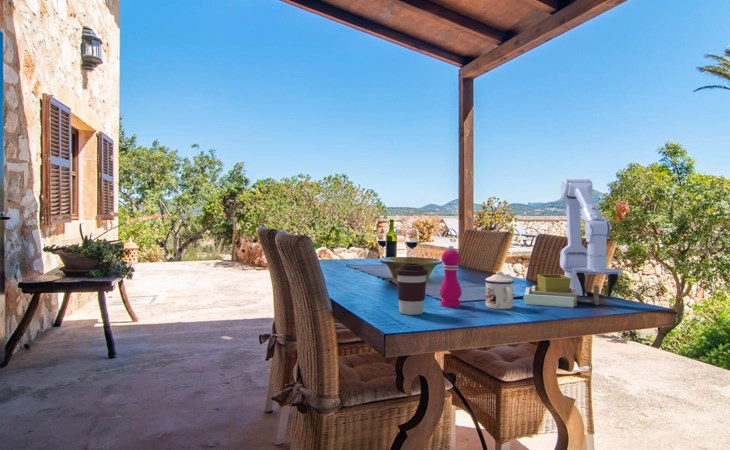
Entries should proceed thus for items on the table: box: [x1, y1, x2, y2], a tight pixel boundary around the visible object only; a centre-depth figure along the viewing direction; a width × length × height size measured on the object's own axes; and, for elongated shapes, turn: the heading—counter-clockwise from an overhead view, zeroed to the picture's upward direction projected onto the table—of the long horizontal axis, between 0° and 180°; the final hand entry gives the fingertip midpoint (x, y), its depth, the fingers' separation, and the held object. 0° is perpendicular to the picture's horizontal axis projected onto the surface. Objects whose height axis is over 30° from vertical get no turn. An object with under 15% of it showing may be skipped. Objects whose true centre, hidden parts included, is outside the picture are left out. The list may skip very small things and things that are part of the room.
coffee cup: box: [394, 262, 429, 316], centre depth 139 cm, size 10×10×15 cm
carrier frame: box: [531, 284, 600, 307], centre depth 157 cm, size 14×21×6 cm, turn 69°
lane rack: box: [523, 286, 575, 308], centre depth 159 cm, size 17×15×3 cm
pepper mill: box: [439, 245, 462, 308], centre depth 151 cm, size 7×7×20 cm
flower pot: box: [536, 273, 571, 293], centre depth 159 cm, size 9×9×9 cm
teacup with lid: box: [484, 270, 515, 310], centre depth 148 cm, size 12×9×12 cm
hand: (596, 295), depth 154 cm, fingers open, 7 cm apart
